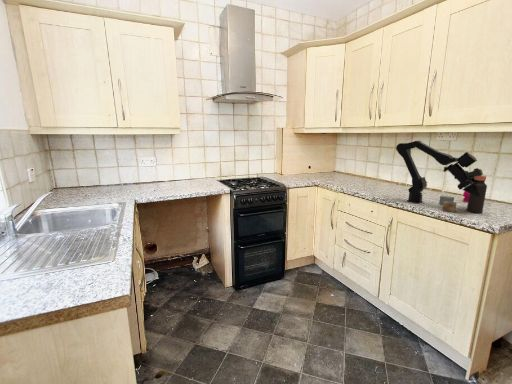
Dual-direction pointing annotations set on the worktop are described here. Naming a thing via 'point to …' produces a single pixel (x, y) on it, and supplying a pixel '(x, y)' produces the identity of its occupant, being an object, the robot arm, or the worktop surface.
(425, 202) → the worktop surface
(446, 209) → the walnut cube
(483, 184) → the vinegar
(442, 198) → the slate cube
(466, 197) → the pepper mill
